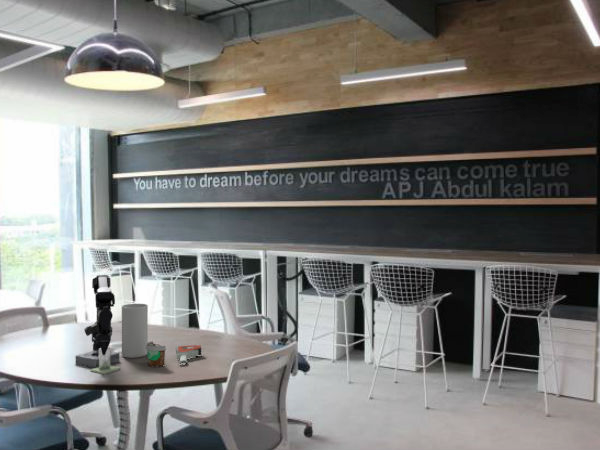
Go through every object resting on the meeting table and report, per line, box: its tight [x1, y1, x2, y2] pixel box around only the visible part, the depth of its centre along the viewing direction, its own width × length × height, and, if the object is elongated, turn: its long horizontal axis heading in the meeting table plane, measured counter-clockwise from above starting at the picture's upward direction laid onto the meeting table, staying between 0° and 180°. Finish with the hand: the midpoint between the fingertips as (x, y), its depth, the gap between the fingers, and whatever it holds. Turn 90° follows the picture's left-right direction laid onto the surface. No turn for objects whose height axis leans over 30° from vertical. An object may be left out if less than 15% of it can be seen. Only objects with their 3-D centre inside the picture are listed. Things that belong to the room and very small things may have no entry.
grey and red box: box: [175, 344, 202, 365], centre depth 277 cm, size 18×5×20 cm
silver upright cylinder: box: [99, 347, 111, 370], centre depth 257 cm, size 5×5×9 cm
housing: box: [75, 349, 120, 369], centre depth 269 cm, size 14×14×4 cm
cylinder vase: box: [121, 303, 149, 359], centre depth 283 cm, size 12×12×25 cm
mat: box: [90, 365, 121, 375], centre depth 257 cm, size 9×9×1 cm
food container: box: [146, 340, 167, 367], centre depth 265 cm, size 12×6×10 cm, turn 45°
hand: (104, 352), depth 257 cm, fingers open, 9 cm apart
